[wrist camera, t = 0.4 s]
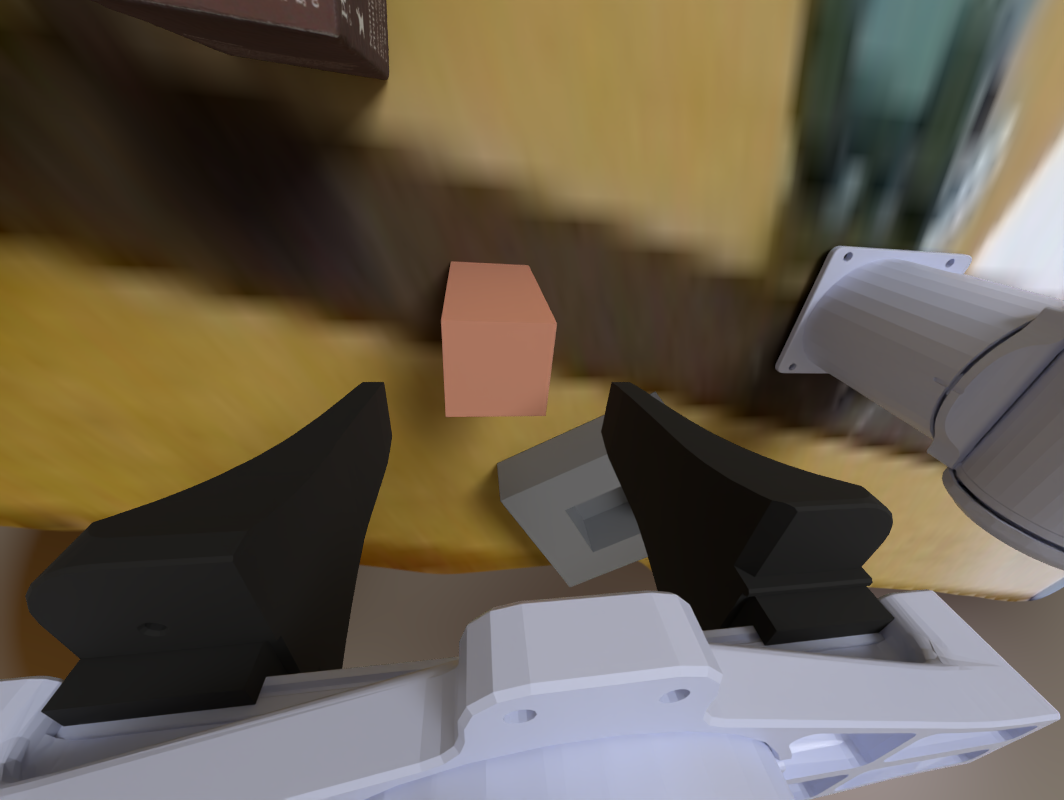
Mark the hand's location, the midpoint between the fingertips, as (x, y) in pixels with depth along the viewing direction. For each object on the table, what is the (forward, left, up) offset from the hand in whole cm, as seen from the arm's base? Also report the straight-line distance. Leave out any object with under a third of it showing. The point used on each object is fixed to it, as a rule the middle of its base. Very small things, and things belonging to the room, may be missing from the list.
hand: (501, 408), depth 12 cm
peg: (0, 0, -10) cm, 10 cm away
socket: (-9, +14, -10) cm, 20 cm away
